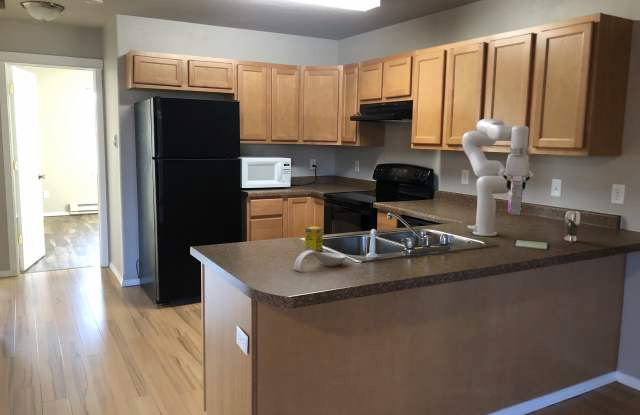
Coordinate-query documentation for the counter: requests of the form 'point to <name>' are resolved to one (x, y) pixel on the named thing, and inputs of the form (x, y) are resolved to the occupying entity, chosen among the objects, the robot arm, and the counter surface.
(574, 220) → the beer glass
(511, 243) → the counter surface
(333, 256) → the spoon rest
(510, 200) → the candy bar box
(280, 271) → the counter surface
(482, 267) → the counter surface
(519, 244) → the mat
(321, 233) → the supplement box
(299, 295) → the counter surface
